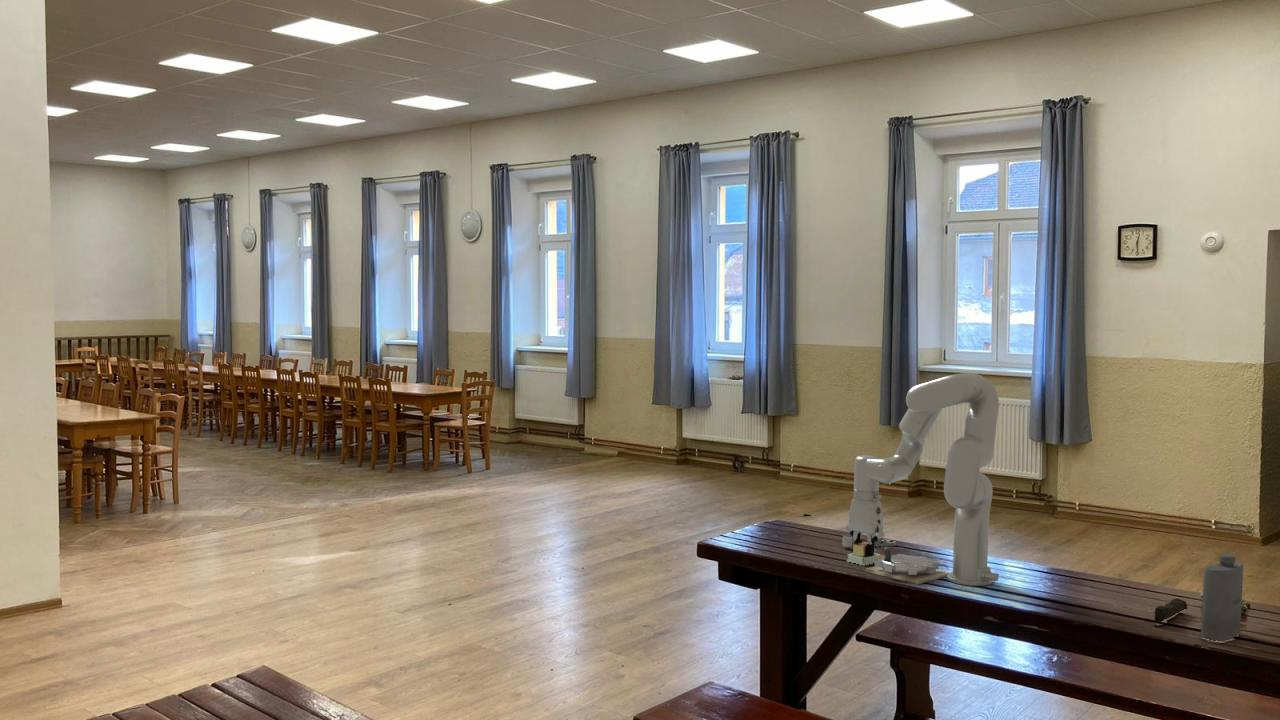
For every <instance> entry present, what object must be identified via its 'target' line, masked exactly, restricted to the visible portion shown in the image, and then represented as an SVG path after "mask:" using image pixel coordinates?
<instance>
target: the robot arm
mask: <svg viewBox="0 0 1280 720" xmlns="http://www.w3.org/2000/svg"><path fill="white" fill-rule="evenodd" d="M999 401H1000V400H999V395H998V392H997V390H996V387H995V386H994V385H993V383H992V382H991V381H990V380H989V379H987V378H986V377H984V376H982V375H980V374H977V373H973V372H965V373H964V372H963V373H956V374H951V375H947V376H944V377H943V376H942V377H940V378H937V379H934V380H929V381H927V382H924V383H920V384H916V385H914V386H912V387H911V388H910V389H909V390H908V391H907V394H906V397H905V403H906V406H907V410H906V412H905V414H904V415H903V417H902V419H901V421H900V422H899V424H898V428H899V430H900V431H901V435H902V437H901V440H900V444H899V445H898V447H897V449H896V451H895V453H894V454H893V455H892V456H890V457H885V458H879V457H877V456H875V455H869V454H865V455H864V454H863V455H857V456H856V457H855V459H854V470H853V472H854V473H853V474H854V475H853V477H854V478H853V498H852V499H851V502H850V506H849V511H848V513H849V514H848V523H847V525H846V527H845V530H846V531H847V532H848V534H849V535H851V536H852V538H853V541H854V544H858V543H860V542H862V543H863V542H864V541H863V540H862V535H863V534H867V542H868V544H867V545H866V556H867V557H870V556H874V549H875V550H876V547H875V543H876V542H877V543H878V542H879V540H880V539H883V538H884V537H885V533H884V530H883V529H884V516H883V515H884V514H883V507H882V506H883V505H882V503H881V501H880V499H881V498H882V494H881V493H880V492H879V491H880V489H879V488H880V484H884V485H885V484H892V483H895V482H900V481H903V480H906V479H907V478H908V477H909V476H910V475H911V473H912V471H914V468H915V466H916V465H917V463H918V461H919V460H920V458H921V456H922V454H923V452H924V451H923V450H924V446H925V441H926V437H927V436H928V434H929V432H930V430H931V428H932V426H933V425H934V423H935V421H936V420H937V418H938V416H939V415H940V413H941V412H942V409H945V408H948V407H953V406H956V405H962V404H968V406H969V407H968V410H967V414H966V417H965V421H964V423H965V424H964V425H965V426H964V431H963V436H962V437H960V438H958V439H956V440H955V441H953V442H952V444H951V445H950V447H949V449H948V452H947V455H946V456H947V458H946V463H945V464H946V465H945V473H944V482H943V495H944V497H945V500H946V501H947V503H948V504H949V505H950V506H951V507H952V508H955V512H954V525H953V549H952V550H953V553H952V572H949V574H947V577H946V579H947V581H949V582H951V583H954V584H958V585H963V586H970V587H971V586H972V587H973V586H974V587H981V586H982V587H985V586H990V585H991V584H993V582H998V581H999V577H1000V574H999V573H996V572H992V571H991V568H992V567H990V566H988V558H989V557H988V555H989V554H988V553H989V534H990V533H989V532H990V531H989V529H990V515H991V513H990V512H991V507H992V506H991V505H992V501H993V500H992V499H993V491H994V490H993V489H994V488H993V485H992V482H991V480H990V479H989V477H988V476H987V475H985V474H984V473H982V472H980V471H981V468H984V467H986V466H988V465H989V464H990V463H991V462H992V460H993V457H994V451H995V441H996V435H997V434H996V433H997V423H998V417H999V416H998V415H999V409H1000V408H999V405H1000V403H999Z"/></svg>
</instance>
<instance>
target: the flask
mask: <svg viewBox="0 0 1280 720" xmlns="http://www.w3.org/2000/svg"><path fill="white" fill-rule="evenodd" d="M1243 580H1244V564H1243V563H1242V562H1240V561H1236V557H1235V556H1233V555H1231V554H1223V553H1222V554H1220V555H1218V563H1216V564H1212V565H1207V566H1204V568H1203V582H1202V586H1203V587H1202V604H1201V607H1202V608H1201V623H1200V625H1201V626H1200V629H1201V630H1200V638H1201V637H1202V638H1205V639H1209V640H1213V641H1216V640H1217V641H1225V640H1229V639H1232V638H1233V637H1235V636H1237V635H1238V634H1239V633H1240V634H1241V623H1242V622H1241V621H1242V604H1243V603H1242V601H1243V599H1242V598H1243V582H1244V581H1243Z"/></svg>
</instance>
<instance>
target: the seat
mask: <svg viewBox="0 0 1280 720" xmlns="http://www.w3.org/2000/svg"><path fill="white" fill-rule="evenodd" d="M880 555H882V554H880V553H877V552H876V553H874V556H870V557H865V558H862V557H858V556H853V552H852V553H848V554H846V563H849V562H851V563H850V564H853V563H856V564H855V565H857V564H859V565H858V566H862V565H863V566H862V567H865V565H866V566H869V564H870V565H874V564H875V559H878V556H880ZM873 563H874V564H873Z"/></svg>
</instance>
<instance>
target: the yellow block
mask: <svg viewBox="0 0 1280 720" xmlns="http://www.w3.org/2000/svg"><path fill="white" fill-rule="evenodd" d="M867 544H868V541H863V543H862V542H860V543H858V544H853V548H852V553H853V556H858V557H862V558H865V557H867V556H866V545H867ZM875 550H876V548H875V549H874V553H875Z"/></svg>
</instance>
